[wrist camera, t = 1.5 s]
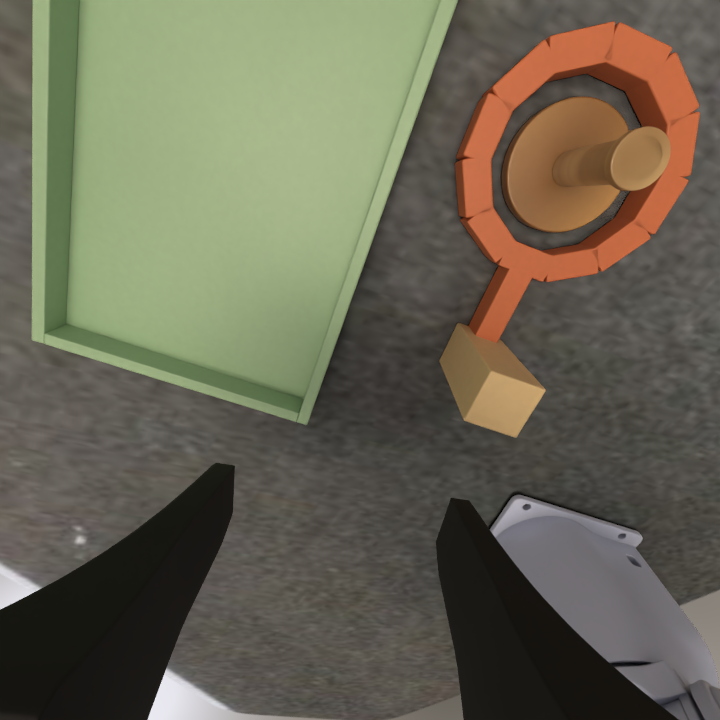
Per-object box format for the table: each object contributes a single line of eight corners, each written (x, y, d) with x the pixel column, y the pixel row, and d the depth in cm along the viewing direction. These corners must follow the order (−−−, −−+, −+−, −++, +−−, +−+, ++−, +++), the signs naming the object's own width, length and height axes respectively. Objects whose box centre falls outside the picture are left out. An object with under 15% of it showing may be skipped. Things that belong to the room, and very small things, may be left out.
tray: (477, -60, 14) (493, -99, 12) (312, 406, 22) (306, 425, 20) (82, -254, 12) (32, -331, 11) (61, 327, 21) (31, 340, 19)
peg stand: (646, 128, 16) (770, 99, 11) (578, 246, 18) (658, 267, 13) (538, 79, 16) (619, 25, 11) (480, 207, 18) (524, 213, 13)
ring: (718, 94, 16) (906, 40, 10) (532, 393, 21) (588, 462, 16) (519, -1, 15) (609, -118, 9) (380, 341, 20) (384, 395, 15)
